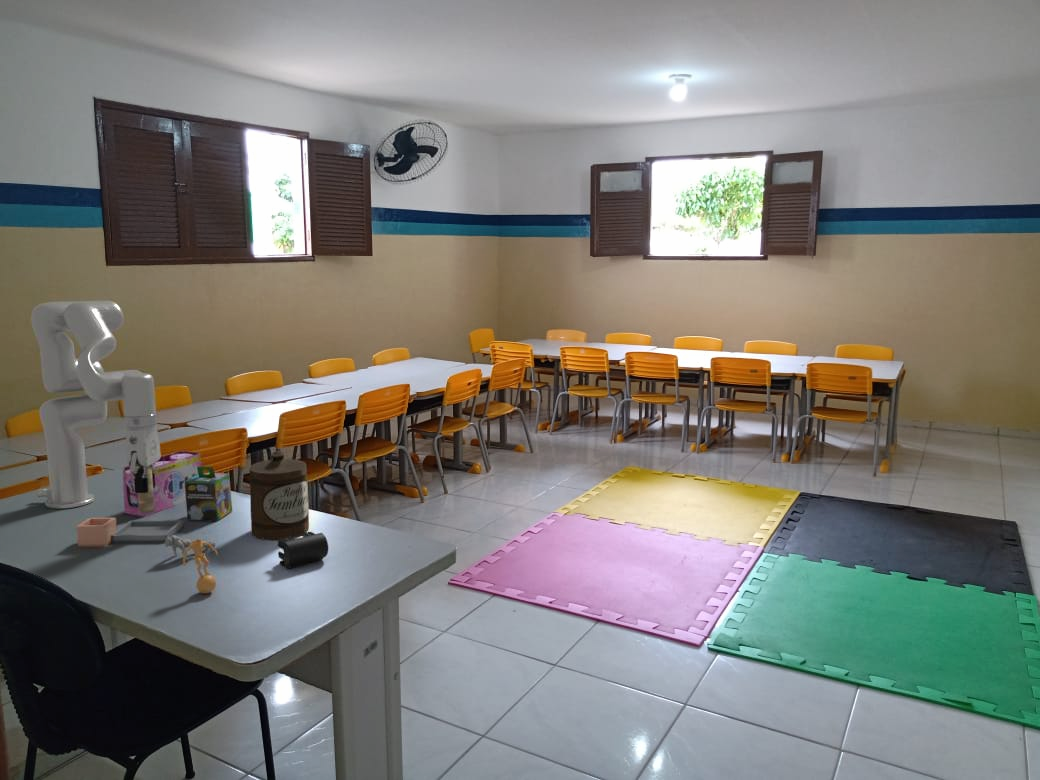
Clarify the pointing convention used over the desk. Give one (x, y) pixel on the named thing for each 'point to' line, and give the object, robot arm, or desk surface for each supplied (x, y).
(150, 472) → the dowel
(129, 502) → the gum box
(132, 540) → the tray
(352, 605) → the desk surface
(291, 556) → the end cap
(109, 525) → the pink open box
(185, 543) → the soldier figurine
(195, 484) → the chalk box
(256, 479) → the wooden container
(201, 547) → the figurine
